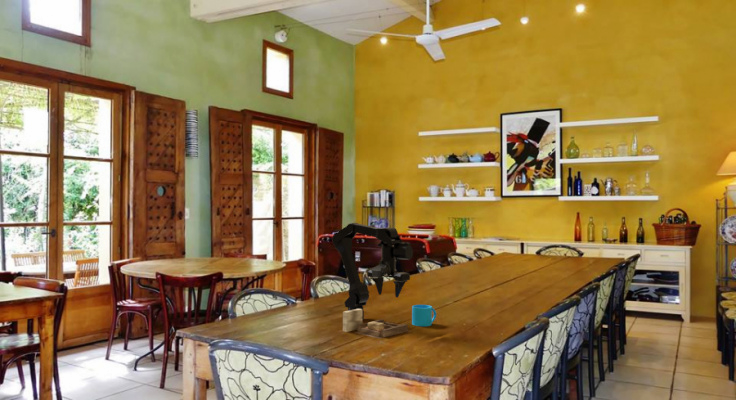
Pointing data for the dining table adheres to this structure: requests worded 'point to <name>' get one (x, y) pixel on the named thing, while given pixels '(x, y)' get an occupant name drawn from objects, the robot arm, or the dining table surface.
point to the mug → (422, 315)
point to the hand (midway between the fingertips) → (388, 295)
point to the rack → (388, 330)
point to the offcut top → (375, 325)
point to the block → (352, 319)
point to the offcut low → (375, 330)
